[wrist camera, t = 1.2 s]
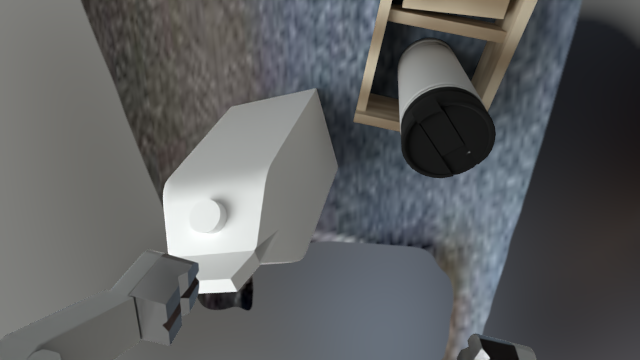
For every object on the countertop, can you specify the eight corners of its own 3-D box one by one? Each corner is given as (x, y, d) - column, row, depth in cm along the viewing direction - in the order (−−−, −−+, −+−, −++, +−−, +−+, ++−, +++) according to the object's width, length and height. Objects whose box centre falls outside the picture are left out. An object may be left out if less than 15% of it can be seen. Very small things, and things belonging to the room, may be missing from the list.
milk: (260, 178, 53) (169, 335, 31) (231, 106, 47) (95, 236, 26) (338, 167, 50) (296, 333, 28) (316, 88, 44) (242, 219, 22)
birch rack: (398, -80, 34) (400, -87, 28) (537, -55, 33) (568, -57, 27) (358, 98, 44) (353, 121, 38) (463, 121, 43) (474, 147, 37)
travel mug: (436, 22, 38) (470, 78, 21) (464, 73, 40) (515, 160, 23) (385, 56, 40) (380, 130, 24) (414, 103, 43) (428, 199, 26)
